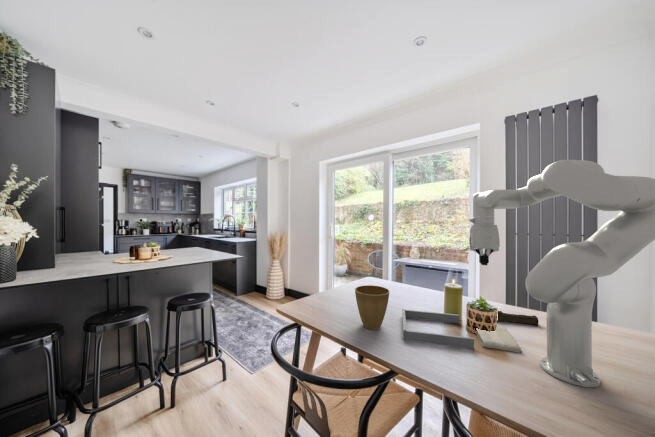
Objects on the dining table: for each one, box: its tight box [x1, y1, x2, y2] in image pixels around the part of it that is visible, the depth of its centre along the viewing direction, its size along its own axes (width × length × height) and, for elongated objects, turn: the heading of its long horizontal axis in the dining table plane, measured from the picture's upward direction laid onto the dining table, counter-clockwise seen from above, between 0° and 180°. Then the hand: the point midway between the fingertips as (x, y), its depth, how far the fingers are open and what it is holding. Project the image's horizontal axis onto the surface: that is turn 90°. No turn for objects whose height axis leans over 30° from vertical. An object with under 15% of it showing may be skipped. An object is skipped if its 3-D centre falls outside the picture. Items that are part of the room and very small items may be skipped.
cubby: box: [401, 309, 475, 350], centre depth 99 cm, size 22×24×4 cm
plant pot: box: [354, 284, 390, 331], centre depth 104 cm, size 15×15×16 cm
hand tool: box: [497, 310, 539, 327], centre depth 107 cm, size 19×4×5 cm, turn 69°
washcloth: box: [475, 325, 522, 353], centre depth 92 cm, size 12×18×3 cm, turn 160°
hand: (483, 264), depth 100 cm, fingers closed
